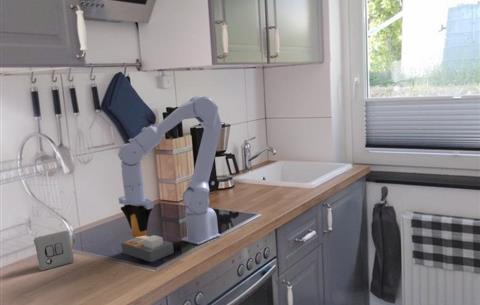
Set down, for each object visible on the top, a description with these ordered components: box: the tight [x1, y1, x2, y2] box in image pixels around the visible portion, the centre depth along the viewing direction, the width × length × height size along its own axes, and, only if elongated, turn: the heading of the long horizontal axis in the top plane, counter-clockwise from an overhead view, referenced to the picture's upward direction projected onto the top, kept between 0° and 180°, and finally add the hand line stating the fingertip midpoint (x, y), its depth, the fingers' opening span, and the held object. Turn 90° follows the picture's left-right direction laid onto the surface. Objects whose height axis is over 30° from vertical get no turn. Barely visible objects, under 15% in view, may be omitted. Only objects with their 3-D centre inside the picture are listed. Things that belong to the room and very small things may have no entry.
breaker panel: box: [121, 234, 175, 263], centre depth 133 cm, size 8×14×3 cm, turn 48°
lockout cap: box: [130, 214, 147, 238], centre depth 134 cm, size 4×4×6 cm
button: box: [143, 235, 164, 249], centre depth 130 cm, size 4×4×3 cm
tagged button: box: [129, 236, 148, 245], centre depth 135 cm, size 4×4×3 cm
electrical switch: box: [33, 230, 75, 271], centre depth 130 cm, size 9×5×9 cm, turn 124°
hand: (138, 229), depth 134 cm, fingers closed on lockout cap, 4 cm apart
